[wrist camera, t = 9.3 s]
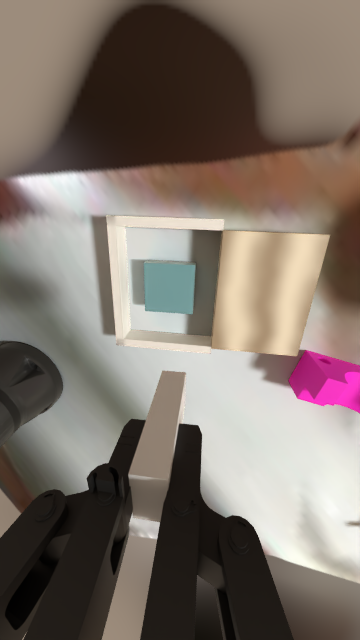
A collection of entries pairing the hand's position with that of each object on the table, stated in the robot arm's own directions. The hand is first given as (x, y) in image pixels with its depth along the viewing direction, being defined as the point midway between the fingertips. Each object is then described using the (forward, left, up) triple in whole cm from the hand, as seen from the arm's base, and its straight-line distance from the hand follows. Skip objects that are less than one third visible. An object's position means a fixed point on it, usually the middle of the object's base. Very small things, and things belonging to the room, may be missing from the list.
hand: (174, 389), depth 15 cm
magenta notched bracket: (+25, -12, -22) cm, 35 cm away
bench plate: (+9, +1, -22) cm, 23 cm away
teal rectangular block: (-4, +1, -22) cm, 22 cm away
